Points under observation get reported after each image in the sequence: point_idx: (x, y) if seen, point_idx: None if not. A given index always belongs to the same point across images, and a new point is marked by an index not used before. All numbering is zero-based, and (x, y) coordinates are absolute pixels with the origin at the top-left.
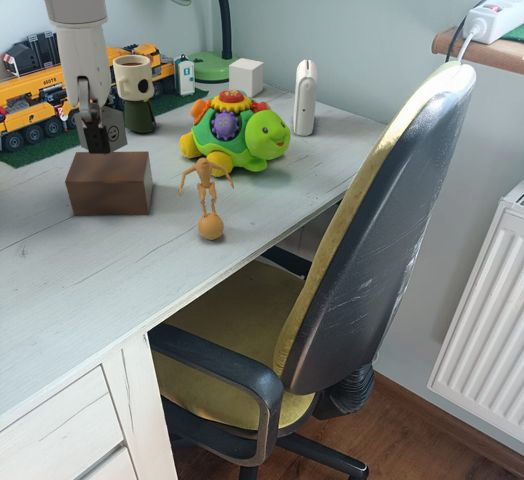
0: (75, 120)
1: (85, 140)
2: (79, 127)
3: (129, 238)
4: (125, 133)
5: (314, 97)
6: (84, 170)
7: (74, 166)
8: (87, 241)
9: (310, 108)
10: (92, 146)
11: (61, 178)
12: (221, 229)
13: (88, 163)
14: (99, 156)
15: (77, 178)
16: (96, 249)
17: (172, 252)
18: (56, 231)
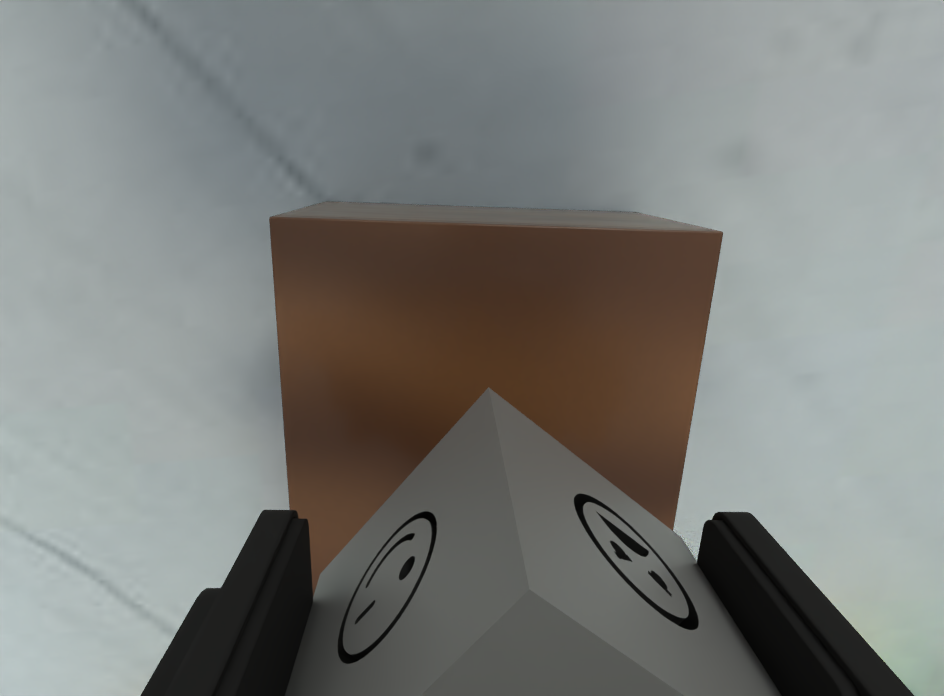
0: (510, 535)
1: (438, 482)
2: (476, 518)
3: (147, 468)
4: None
5: None
6: (432, 329)
7: (495, 253)
8: (102, 296)
9: None
10: (193, 608)
11: (736, 67)
12: None
13: (531, 342)
14: (627, 399)
15: (314, 299)
16: (43, 344)
17: (67, 620)
18: (175, 129)
